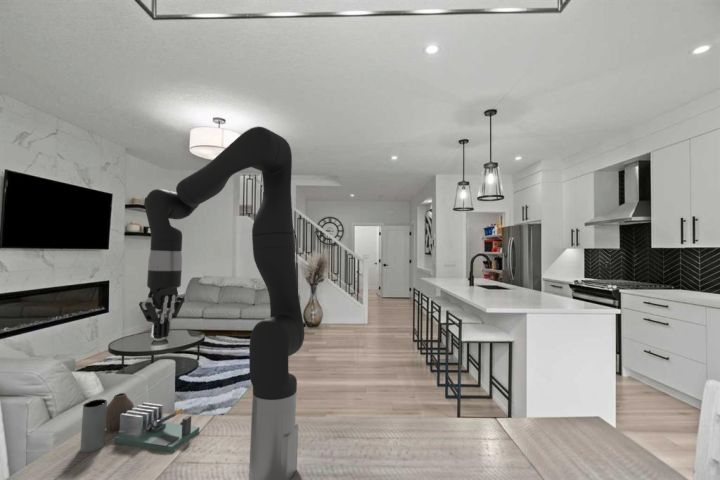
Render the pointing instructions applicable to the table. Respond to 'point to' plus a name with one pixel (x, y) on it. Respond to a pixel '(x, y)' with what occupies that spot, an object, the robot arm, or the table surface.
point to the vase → (117, 411)
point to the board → (160, 438)
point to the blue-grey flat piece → (165, 418)
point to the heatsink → (141, 420)
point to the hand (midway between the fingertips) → (161, 337)
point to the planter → (93, 425)
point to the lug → (186, 425)
